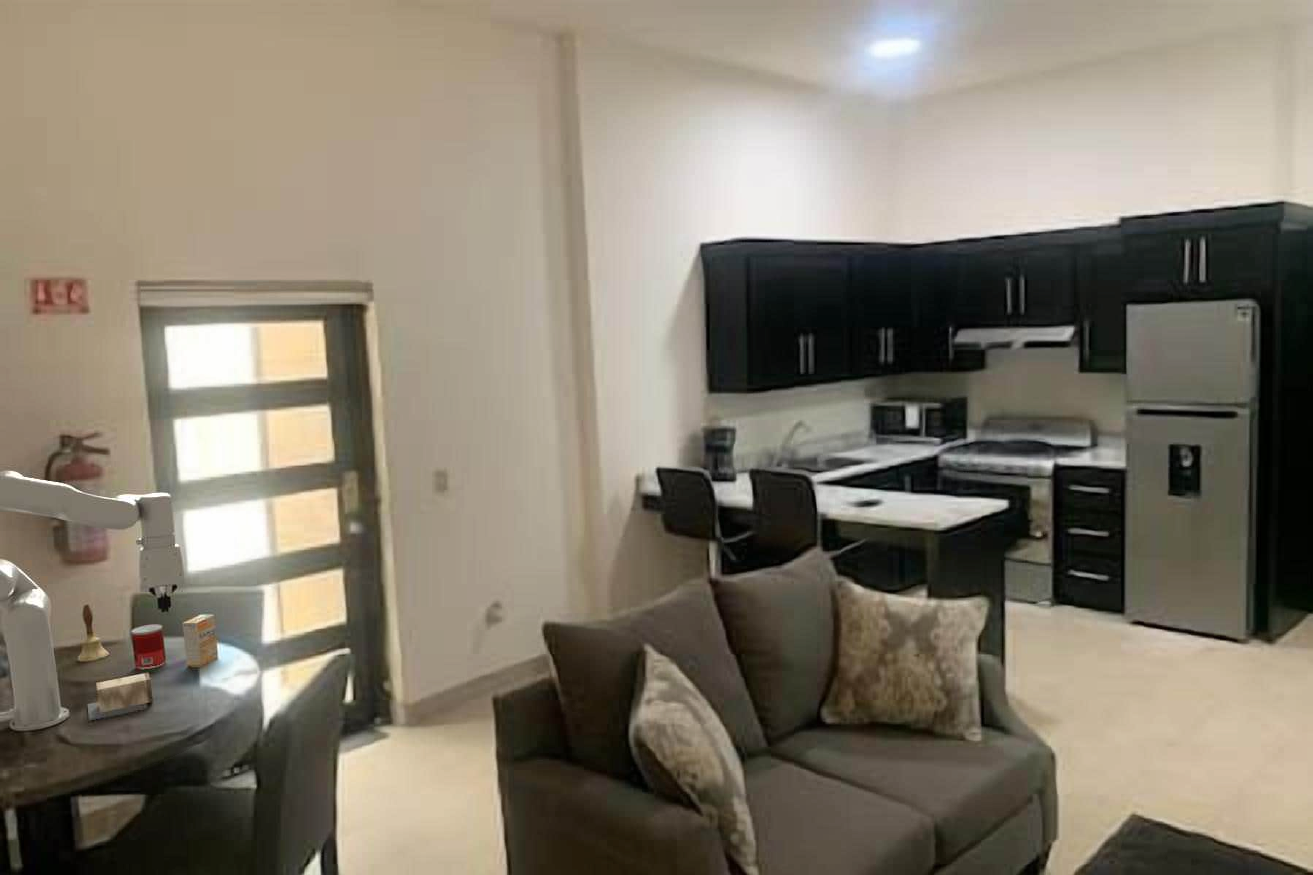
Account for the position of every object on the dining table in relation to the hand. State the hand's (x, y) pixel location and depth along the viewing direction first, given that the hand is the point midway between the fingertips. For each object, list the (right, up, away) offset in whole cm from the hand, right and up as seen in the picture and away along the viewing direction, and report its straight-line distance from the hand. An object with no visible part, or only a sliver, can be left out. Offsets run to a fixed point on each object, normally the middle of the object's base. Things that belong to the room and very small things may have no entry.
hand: (164, 610), depth 265 cm
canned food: (-17, -21, +28) cm, 39 cm away
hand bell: (-40, -20, +38) cm, 59 cm away
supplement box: (-3, -20, +28) cm, 35 cm away
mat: (-10, -24, -4) cm, 26 cm away
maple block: (-4, -20, 0) cm, 20 cm away
